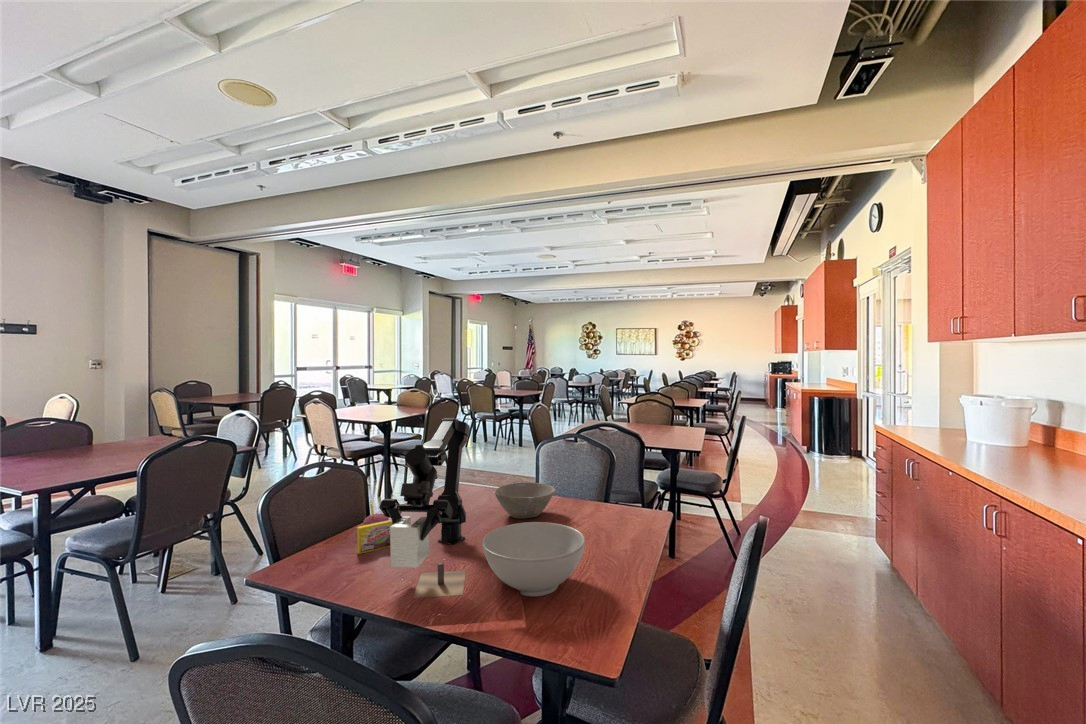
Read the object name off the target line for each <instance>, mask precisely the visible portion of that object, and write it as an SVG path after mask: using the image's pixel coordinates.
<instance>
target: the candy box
mask: <svg viewBox="0 0 1086 724" xmlns="http://www.w3.org/2000/svg"><path fill="white" fill-rule="evenodd" d="M391 526H392V519H389V520H388V521H383V522H378V523H373V524H369V525H364V526H363V525H361V526H357V527H356V529H357V531H356V532H357V533H356V534H357V535H356V537H357V540H356V542H357V543H356V553H357V554H358V555H363V554H366V553H369V552H375V551H377V550H383V549H386V548H391V547H390V527H391Z"/></svg>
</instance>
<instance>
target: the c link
mask: <svg viewBox="0 0 1086 724" xmlns="http://www.w3.org/2000/svg"><path fill="white" fill-rule="evenodd" d="M426 517H427V516H421V517H419V518H418V519H417V520H416V521H414V523H412V524H411V516H402V518H401V519H400V520H398V521H397V522H396V523H395V524H393V525H392V526H391V527H390V547H389V548H390V567H392V568H414V569H415V568H419V567H420V565H422V563H423V562H424V561H425V560H426V559H427V558H428V556H429V555H430V533H429V534H428V535H427V536H426V537H425V539H424V540H423V541H422V540H421V534H422V530H423V527H424V524H425V521H426Z"/></svg>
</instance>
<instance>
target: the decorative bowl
mask: <svg viewBox="0 0 1086 724" xmlns="http://www.w3.org/2000/svg"><path fill="white" fill-rule="evenodd" d="M481 547H482V550H483V551H482V552H483V555H484V556H485V558H486V561H487V563H488V566H490V568H491V570H492V572H493V573H494V574H495V576H497V578H498V579H499V580H501V581H502V582H503V583H504V584H506V585H507V586H508V587H510V588H513V589H515V590H517V591H519V594H520V595H521V596H525V597H542V596H546V595H550V594H552V593H553V592H555V591H556V590H557V589H558V588H559V585H561V584H562V583H564V582H565V581H566V580H568V578H569V577H571V576H572V575H573V572H574V571H575V569H576V568H577V567H578V566H579V563H580V561H581V559H582V557H583V553H584V550H585V547H586V537H585V536H584V534H583V533H582V532H581V531H579V530H578V529H576V528H574V527H571V526H570V525H569V526H568V525H564V524H561V523H555V522H547V521H546V522H544V521H543V522H542V521H532V522H531V521H529V522H519V523H513V524H508V525H503V526H501V527H498V528H495V529H493V530H491V531H489V532H488V533H487V534H485V536H483V539H482V541H481Z"/></svg>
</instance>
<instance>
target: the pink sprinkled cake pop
mask: <svg viewBox="0 0 1086 724" xmlns="http://www.w3.org/2000/svg"><path fill="white" fill-rule="evenodd" d="M369 506H370V507H369V508H370V512H371V515H368V516H366V517H365V518H364V520H363V521H362V526H364V525H369V524H373V523H378V522H383V521H388V520H390V518H388V517H385V515H384V514H383V512H380V513H374V508H373V507H374V506H373V503H372V502H371V500H370V501H369Z"/></svg>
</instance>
